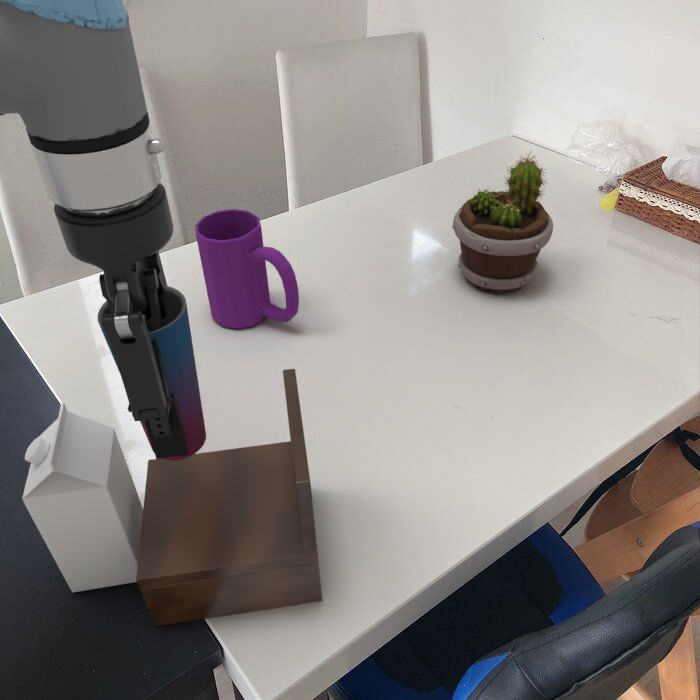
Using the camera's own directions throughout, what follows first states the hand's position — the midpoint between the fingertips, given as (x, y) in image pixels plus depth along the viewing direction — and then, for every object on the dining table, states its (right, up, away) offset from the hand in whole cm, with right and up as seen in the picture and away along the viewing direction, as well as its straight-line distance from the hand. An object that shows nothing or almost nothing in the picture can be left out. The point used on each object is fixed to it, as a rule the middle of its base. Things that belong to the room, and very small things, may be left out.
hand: (174, 425), depth 61 cm
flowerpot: (+39, +18, +47) cm, 64 cm away
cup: (0, -2, +1) cm, 2 cm away
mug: (+2, +11, +40) cm, 42 cm away
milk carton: (-9, -15, +9) cm, 19 cm away
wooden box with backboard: (+4, -14, +9) cm, 17 cm away
